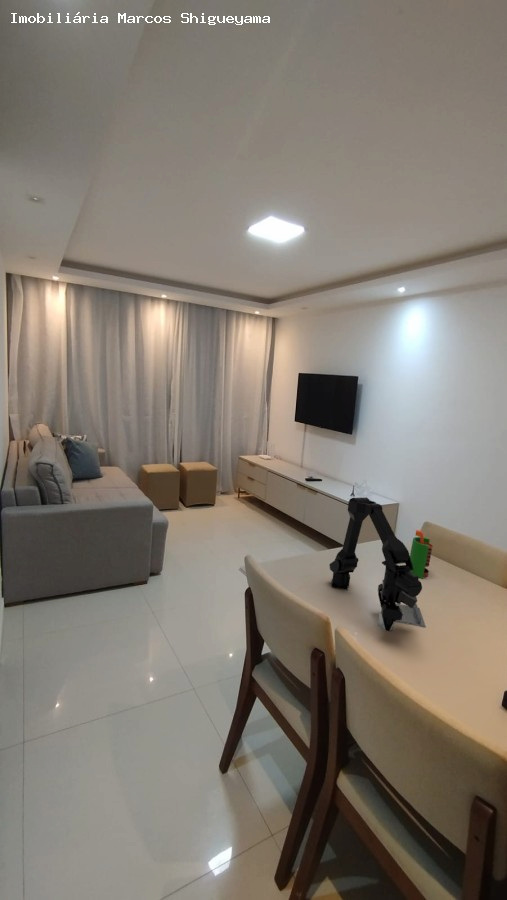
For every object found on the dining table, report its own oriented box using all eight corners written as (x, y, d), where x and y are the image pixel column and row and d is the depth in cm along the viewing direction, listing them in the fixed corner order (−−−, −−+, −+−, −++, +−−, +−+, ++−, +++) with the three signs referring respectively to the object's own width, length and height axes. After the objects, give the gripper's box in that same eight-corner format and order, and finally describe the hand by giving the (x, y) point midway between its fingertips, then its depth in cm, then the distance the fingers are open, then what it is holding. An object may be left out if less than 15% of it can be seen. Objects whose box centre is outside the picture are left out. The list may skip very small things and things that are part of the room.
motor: (430, 580, 180) (437, 537, 176) (409, 576, 182) (416, 534, 178) (425, 570, 190) (432, 529, 186) (405, 567, 191) (412, 526, 188)
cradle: (389, 620, 145) (390, 614, 145) (386, 603, 157) (387, 597, 157) (425, 627, 143) (426, 620, 143) (419, 609, 155) (420, 603, 154)
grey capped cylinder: (378, 629, 140) (380, 614, 139) (377, 621, 144) (379, 606, 143) (393, 632, 139) (396, 617, 138) (392, 623, 143) (394, 609, 143)
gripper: (422, 600, 128) (414, 644, 131) (412, 573, 146) (406, 613, 149) (385, 593, 130) (379, 637, 133) (380, 568, 148) (374, 607, 151)
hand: (385, 623), depth 141 cm, fingers open, 9 cm apart
